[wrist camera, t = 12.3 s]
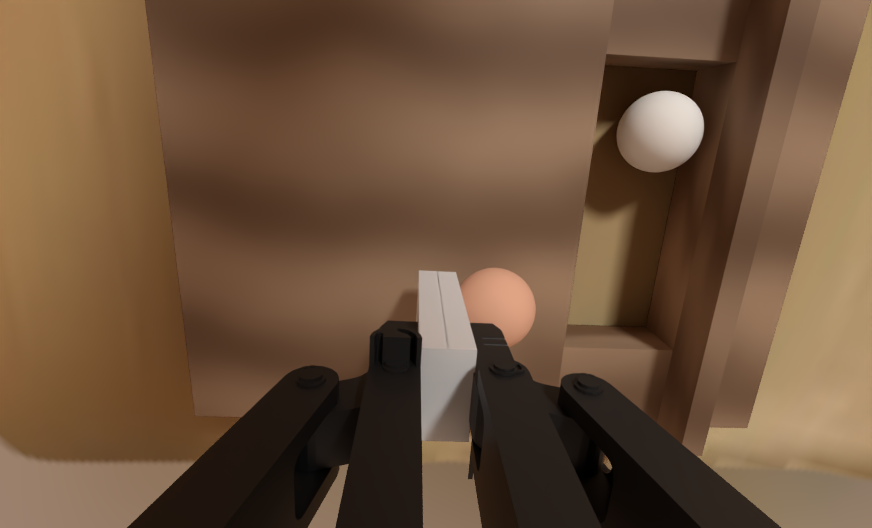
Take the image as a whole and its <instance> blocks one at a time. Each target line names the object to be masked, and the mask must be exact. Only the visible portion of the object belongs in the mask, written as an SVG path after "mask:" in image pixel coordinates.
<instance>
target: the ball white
mask: <svg viewBox="0 0 872 528" xmlns="http://www.w3.org/2000/svg"><path fill="white" fill-rule="evenodd" d="M703 134H704V119H703V116H702V113H701V111H700V109H699V107H698V106H697V104H696V103H695V102H694V101H693V100H692V99H690V98H689V97H687V96H685V95H684V94H681V93H678V92H673V91H658V92H654V93H650V94H648V95H645V96H643V97H641V98H640V99H638V100H637V101H635V102H634V103H633V104H632V105H631V106H630V107H629V108H628V109H627V110H626V111H625V113H624V114H623V116H622V118H621V120H620V122H619V125H618V128H617V145H618V148H619V151H620V153H621V155H622V156H623V158H624V159H625V160H626V161H627V162H628V163H629V164H630V165H631V166H633V167H635V168H637V169H639V170H642V171H646V172H664V171H668V170H671V169H674V168H676V167H678V166H680V165H682V164H683V163H685V162H686V161H687V160H688V159H689V158H690V157H691V156H692V155H693V154H694V153H695V152H696V150H697V149H698V147H699V145H700V143H701V141H702V138H703Z"/></svg>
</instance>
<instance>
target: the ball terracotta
mask: <svg viewBox="0 0 872 528" xmlns="http://www.w3.org/2000/svg"><path fill="white" fill-rule="evenodd" d="M460 289H461V293H462V296H463V300H464V304H465V307H466V311H467V315H468V318H469V322H470V323H492V324H494V325H495V326H497V327H498V328H499V329H500V330H502V333H503V335H504V337H505V340H506V342H507V346H508V347H511V346H513V345H515V344H517V343H518V342H520V341H521V340H522V339H523V338H524V337H525V336H526V335H527V334H528V332H529V331H530V329H531V327H532V325H533V322H534V319H535V313H536V305H535V300H534V296H533V293H532V291H531V289H530V288H529V286H528V285H527V283H526V282H525V281H524V280H523V279H522V278H521V277H520V276H518V275H517V274H515V273H513V272H511V271H509V270H506V269H502V268H486V269H482V270H479V271H477V272H475V273H473V274H472V275H470V276H469V277H467V278H466V279H465V280H464V281H463V283H462V284H461V285H460Z"/></svg>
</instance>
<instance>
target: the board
mask: <svg viewBox="0 0 872 528" xmlns="http://www.w3.org/2000/svg"><path fill="white" fill-rule="evenodd" d="M870 3H871V0H145V4H146V13H147V21H148V29H149V38H150V46H151V54H152V63H153V71H154V79H155V88H156V96H157V104H158V113H159V121H160V129H161V138H162V146H163V154H164V163H165V171H166V179H167V188H168V196H169V204H170V213H171V221H172V229H173V238H174V246H175V254H176V263H177V271H178V279H179V288H180V296H181V304H182V313H183V321H184V329H185V338H186V346H187V354H188V363H189V371H190V379H191V388H192V396H193V404H194V413H195V416H211V417H243V416H244V415H245V414H246V413H247V412H248V411H249V410H250V409H251V408H252V407H253V406H254V405H255V404H256V403H257V402H258V401H259V400H260V399H261V398H262V397H263V396H264V395H265V394H266V393H267V392H269V391H270V390H271V389H272V388H273V387H274V386H275V385H276V384H277V383H278V382H279V381H280V380H281V379H282V378H283V377H284V376H285V375H286V374H288V373H289V372H291V371H292V370H295V369H298V368H301V367H303V366H309V365H316V366H324V367H328V368H331V369H333V370H334V371H335V372H337V374H338V376H339V381H340V380H346V379H351V378H356V377H358V376H361V375H363V374H365V373H366V372H368V369H369V348H370V335H371V334H372V332H374V331H376V330H377V329H380V327H381V326H382V325H383V324H384V323H385V322H387V321H413V322H416V314H417V295H418V276H419V270H421V271H443V272H456V274H457V278H458V282H459V285H461V284H462V283H463V281H464V280H465V279H466V278H467V277H469V276H470V275H472V274H473V273H475V272H477V271H479V270H482V269H486V268H502V269H506V270H509V271H511V272H513V273H515V274H517V275H518V276H520V277H521V278H522V279H523V280H524V281H525V282H526V283H527V285H528V286H529V288H530V289H531V291H532V293H533V296H534V300H535V305H536V313H535V319H534V322H533V325H532V327H531V329H530V331H529V332H528V334H527V335H526V336H525V337H524V338H523V339H522V340H521V341H520V342H518V343H517V344H515V345H513V346H511V347H509V349H510V351H511V354H512V356H513V358H514V361H517V362H519V363H521V364H523V365H524V366H525V367H526V368H527V369H528V370H529V372H530V374H531V376H532V378H533V381H536V382H539V383H542V384H546V385H551V386H556V387H560V384H561V379H562V378H563V377H564V376H565V375H568V374H572V373H587V374H592V375H595V376H596V377H599V378H601V379H603V380H605V381H607V382H608V383H610V384H611V385H612V386H614V387H615V388H616V389H617V390H618V391H619V392H621V393H622V394H623V395H624V396H625V397H627V398H628V399H629V400H630V401H631V402H633V403H634V404H635V405H636V406H637V407H638V408H640V409H641V410H642V411H643V412H644V413H646V414H647V415H648V416H649V417H650V418H652V419H653V420H654V421H655V422H656V423H658V424H659V425H660V426H661V427H662V428H663V429H665V430H666V431H667V432H668V433H669V434H671V435H672V436H673V437H674V438H675V439H677V440H678V441H679V442H680V443H681V444H682V445H684V446H685V447H686V448H687V449H688V450H690V451H691V452H692V453H693V454H694V455H696V456H702V453H703V449H704V445H705V442H706V438H707V434H708V430H709V427H719V428H747V427H748V423H749V420H750V416H751V413H752V409H753V406H754V403H755V399H756V396H757V392H758V389H759V385H760V382H761V378H762V375H763V372H764V368H765V365H766V361H767V358H768V354H769V351H770V347H771V344H772V341H773V337H774V334H775V330H776V327H777V323H778V320H779V316H780V313H781V310H782V306H783V303H784V299H785V296H786V292H787V289H788V285H789V282H790V279H791V275H792V272H793V268H794V265H795V261H796V258H797V254H798V251H799V248H800V244H801V241H802V237H803V234H804V230H805V227H806V223H807V220H808V217H809V213H810V210H811V206H812V203H813V199H814V196H815V192H816V189H817V186H818V182H819V179H820V175H821V172H822V168H823V165H824V161H825V158H826V155H827V151H828V148H829V144H830V141H831V137H832V134H833V130H834V127H835V124H836V120H837V117H838V113H839V110H840V106H841V103H842V99H843V96H844V93H845V89H846V86H847V82H848V79H849V75H850V72H851V68H852V65H853V62H854V58H855V55H856V51H857V48H858V44H859V41H860V37H861V34H862V31H863V27H864V24H865V20H866V17H867V13H868V10H869V6H870ZM605 65H611V66H628V67H645V68H661V69H678V70H694V71H697V74H696V79H695V84H694V89H693V94H692V100H693V101H694V102H695V103H696V104H697V106H698V107H699V109H700V111H701V113H702V116H703V119H704V134H703V138H702V141H701V143H700V145H699V147H698V149H697V150H696V152H695V153H694V154H693V155H692V156H691V157H690V158H689V159H688V160H687V161H686V162H685V163H683V164H682V165H680V166H678V169H677V174H676V179H675V184H674V189H673V194H672V199H671V204H670V209H669V214H668V219H667V224H666V229H665V234H664V239H663V244H662V249H661V255H660V260H659V265H658V270H657V275H656V280H655V285H654V290H653V295H652V300H651V305H650V310H649V315H648V320H647V325H646V327H625V326H594V325H567V322H568V315H569V309H570V302H571V295H572V288H573V281H574V274H575V267H576V260H577V253H578V246H579V240H580V233H581V226H582V219H583V212H584V205H585V198H586V191H587V184H588V178H589V171H590V164H591V157H592V150H593V143H594V136H595V129H596V122H597V116H598V109H599V102H600V95H601V88H602V81H603V74H604V67H605Z"/></svg>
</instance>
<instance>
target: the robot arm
mask: <svg viewBox="0 0 872 528" xmlns="http://www.w3.org/2000/svg"><path fill="white" fill-rule="evenodd" d="M470 429H471V435H472V443H471V454H470V464H469V474H468V479H472V477H473V474H474V480H475V486H476V492H477V498H478V505H479V511H480V517H481V523H482V528H781V527H779V525H778V524H776V523H775V522H774V521H773V520H772V519H770V518H769V517H768V516H767V515H766V514H765V513H763V512H762V511H761V510H760V509H759V508H757V507H756V506H755V505H754V504H753V503H751V502H750V501H749V500H748V499H747V498H746V497H744V496H743V495H742V494H741V493H740V492H738V491H737V490H736V489H735V488H734V487H732V486H731V485H730V484H729V483H728V482H726V481H725V480H724V479H723V478H722V477H721V476H719V475H718V474H717V473H716V472H715V471H713V470H712V469H711V468H710V467H709V466H707V465H706V464H705V463H704V462H703V461H702V460H700V459H699V458H698V457H697V456H696V455H694V454H693V453H692V452H691V451H690V450H688V449H687V448H686V447H685V446H684V445H682V444H681V443H680V442H679V441H678V440H677V439H675V438H674V437H673V436H672V435H671V434H669V433H668V432H667V431H666V430H665V429H663V428H662V427H661V426H660V425H659V424H658V423H656V422H655V421H654V420H653V419H652V418H650V417H649V416H648V415H647V414H646V413H644V412H643V411H642V410H641V409H640V408H638V407H637V406H636V405H635V404H634V403H633V402H631V401H630V400H629V399H628V398H627V397H625V396H624V395H623V394H622V393H621V392H619V391H618V390H617V389H616V388H615V387H614V386H612V385H611V384H610V383H608V382H607V381H605V380H603V379H601V378H599V377H596V376H595V375H592V374H587V373H572V374H568V375H565V376H564V377H563V378H562V379H561V384H560V387H556V386H551V385H546V384H542V383H539V382H536V381H533V378H532V376H531V374H530V372H529V370H528V369H527V368H526V367H525V366H524V365H523V364H521V363H519V362H517V361H514V358H513V356H512V354H511V351H510V349H509V347H508V346H507V342H506V340H505V337H504V335H503V333H502V330H500V329H499V328H498V327H497V326H495V325H494V324H492V323H470V322H469V318H468V315H467V311H466V307H465V304H464V300H463V296H462V293H461V289H460V285H459V282H458V278H457V274H456V272H443V271H421V270H419V276H418V295H417V314H416V322H413V321H387V322H385V323H384V324H383V325H382V326H381V327H380V329H377V330H376V331H374V332H372V334H371V335H370V348H369V369H368V372H366V373H365V374H363V375H361V376H358V377H356V378H351V379H346V380H340V381H339V376H338V374H337V372H335V371H334V370H333V369H331V368H328V367H324V366H316V365H309V366H303V367H301V368H298V369H295V370H292V371H291V372H289V373H288V374H286V375H285V376H284V377H283V378H282V379H281V380H280V381H279V382H278V383H277V384H276V385H275V386H274V387H273V388H272V389H271V390H270V391H269V392H267V393H266V394H265V395H264V396H263V397H262V398H261V399H260V400H259V401H258V402H257V403H256V404H255V405H254V406H253V407H252V408H251V409H250V410H249V411H248V412H247V413H246V414H245V415H244V416H243V417H242V418H240V419H239V420H238V421H237V422H236V423H235V424H234V425H233V426H232V427H231V428H230V429H229V430H228V431H227V432H226V433H225V434H224V435H223V436H222V437H221V438H220V439H219V440H218V441H217V442H216V443H215V444H214V445H212V446H211V447H210V448H209V449H208V450H207V451H206V452H205V453H204V454H203V455H202V456H201V457H200V458H199V459H198V460H197V461H196V462H195V463H194V464H193V465H192V466H191V467H190V468H189V469H188V470H187V471H185V472H184V473H183V474H182V476H180V477H179V478H178V479H177V480H176V481H175V482H174V483H173V484H172V485H171V486H170V487H169V488H168V489H167V490H166V491H165V492H164V493H163V494H162V495H161V496H160V497H159V498H158V499H156V501H154V502H153V504H151V505H150V506H149V507H148V508H147V509H146V510H145V511H144V512H143V513H142V514H141V515H140V516H139V517H138V518H137V519H136V520H135V521H134V522H133V523H132V524H131V525H129V526H128V527H127V528H308V526H309V524H310V522H311V520H312V518H313V517H314V515H315V514H316V512H317V510H318V508H319V507H320V505H321V503H322V501H323V500H324V498H325V496H326V494H327V493H328V491H329V489H330V487H331V486H332V484H333V482H334V480H335V479H336V477H337V474H338V471H339V466H340V465H345V464H349V465H348V470H347V475H346V480H345V484H344V489H343V495H342V499H341V504H340V508H339V513H338V518H337V523H336V528H423V505H422V504H423V502H422V501H423V500H422V441H454V442H469V432H470ZM604 455H606V456H607V458H608V459H609V461H610V463H611V465H612V469H611V470H610V469H608V468H607V466H606V465H605V464H604V463H603V460H604Z"/></svg>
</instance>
